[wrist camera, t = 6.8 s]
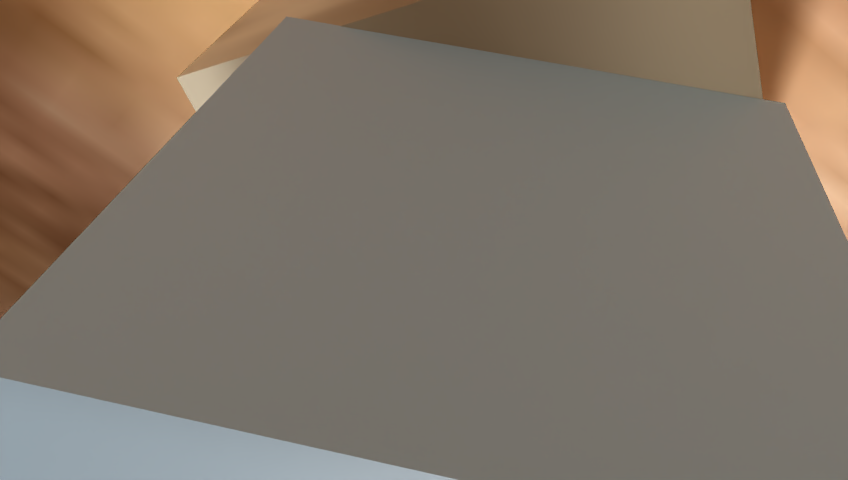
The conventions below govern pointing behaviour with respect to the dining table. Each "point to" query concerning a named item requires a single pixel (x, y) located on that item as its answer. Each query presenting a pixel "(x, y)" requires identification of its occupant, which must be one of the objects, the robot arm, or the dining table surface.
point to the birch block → (528, 36)
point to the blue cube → (443, 284)
